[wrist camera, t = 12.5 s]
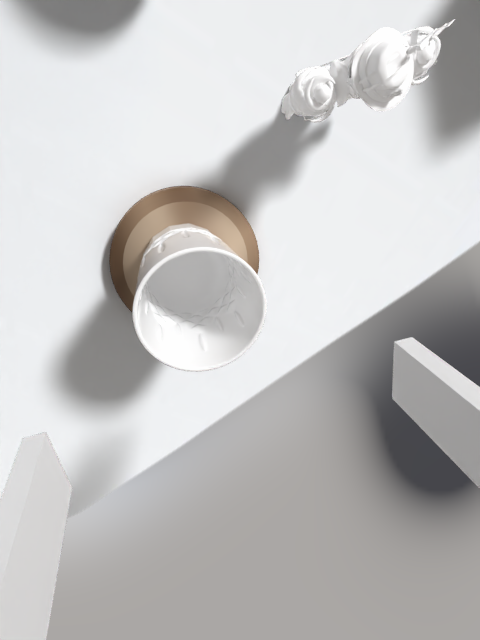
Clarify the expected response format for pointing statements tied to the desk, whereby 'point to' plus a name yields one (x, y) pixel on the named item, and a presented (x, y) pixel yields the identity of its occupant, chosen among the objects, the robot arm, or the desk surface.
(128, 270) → the coaster
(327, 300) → the desk surface
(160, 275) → the white cup
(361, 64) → the flower shoulder figurine
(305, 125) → the desk surface
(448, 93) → the desk surface
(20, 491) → the robot arm
